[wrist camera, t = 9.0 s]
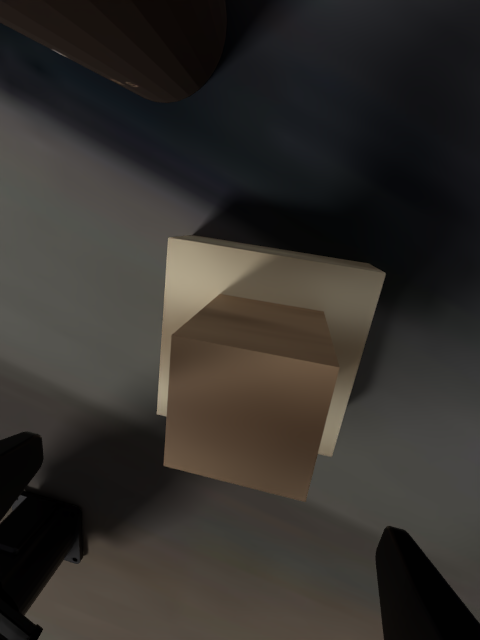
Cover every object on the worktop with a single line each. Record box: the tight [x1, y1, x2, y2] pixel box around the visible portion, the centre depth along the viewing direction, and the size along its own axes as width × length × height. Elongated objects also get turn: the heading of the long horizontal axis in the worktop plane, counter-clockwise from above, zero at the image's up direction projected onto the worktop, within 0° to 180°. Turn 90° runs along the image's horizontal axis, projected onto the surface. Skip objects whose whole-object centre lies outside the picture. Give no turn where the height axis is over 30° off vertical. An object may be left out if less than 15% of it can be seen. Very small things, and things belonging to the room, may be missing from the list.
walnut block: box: [164, 294, 340, 502], centre depth 13 cm, size 5×5×6 cm
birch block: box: [157, 235, 386, 457], centre depth 17 cm, size 10×10×4 cm
